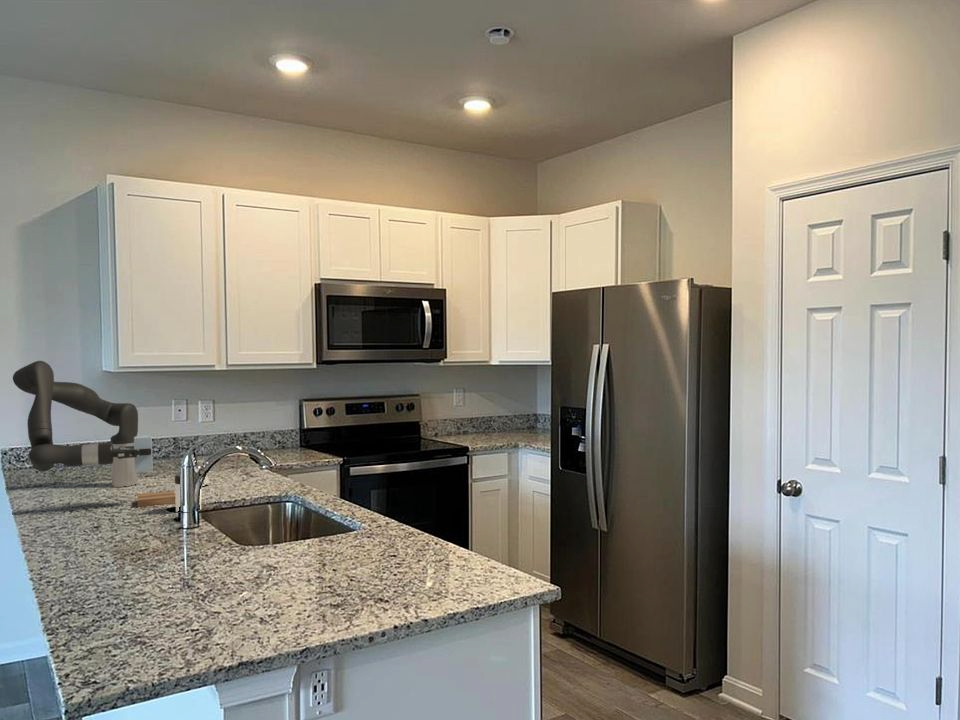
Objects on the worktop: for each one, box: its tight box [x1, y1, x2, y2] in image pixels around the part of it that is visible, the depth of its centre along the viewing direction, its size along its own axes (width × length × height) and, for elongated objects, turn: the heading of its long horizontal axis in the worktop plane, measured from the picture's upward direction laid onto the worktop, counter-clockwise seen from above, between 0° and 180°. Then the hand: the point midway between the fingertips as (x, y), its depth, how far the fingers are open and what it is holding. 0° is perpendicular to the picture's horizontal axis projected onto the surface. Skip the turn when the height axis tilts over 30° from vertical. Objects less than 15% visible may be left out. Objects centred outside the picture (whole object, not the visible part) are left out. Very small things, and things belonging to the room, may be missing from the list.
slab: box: [137, 490, 176, 508], centre depth 255 cm, size 12×12×3 cm
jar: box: [174, 473, 202, 513], centre depth 241 cm, size 9×8×12 cm
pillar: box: [134, 435, 154, 474], centre depth 253 cm, size 6×6×12 cm
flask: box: [196, 459, 211, 484], centre depth 285 cm, size 7×7×10 cm
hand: (151, 450), depth 254 cm, fingers closed on pillar, 5 cm apart
